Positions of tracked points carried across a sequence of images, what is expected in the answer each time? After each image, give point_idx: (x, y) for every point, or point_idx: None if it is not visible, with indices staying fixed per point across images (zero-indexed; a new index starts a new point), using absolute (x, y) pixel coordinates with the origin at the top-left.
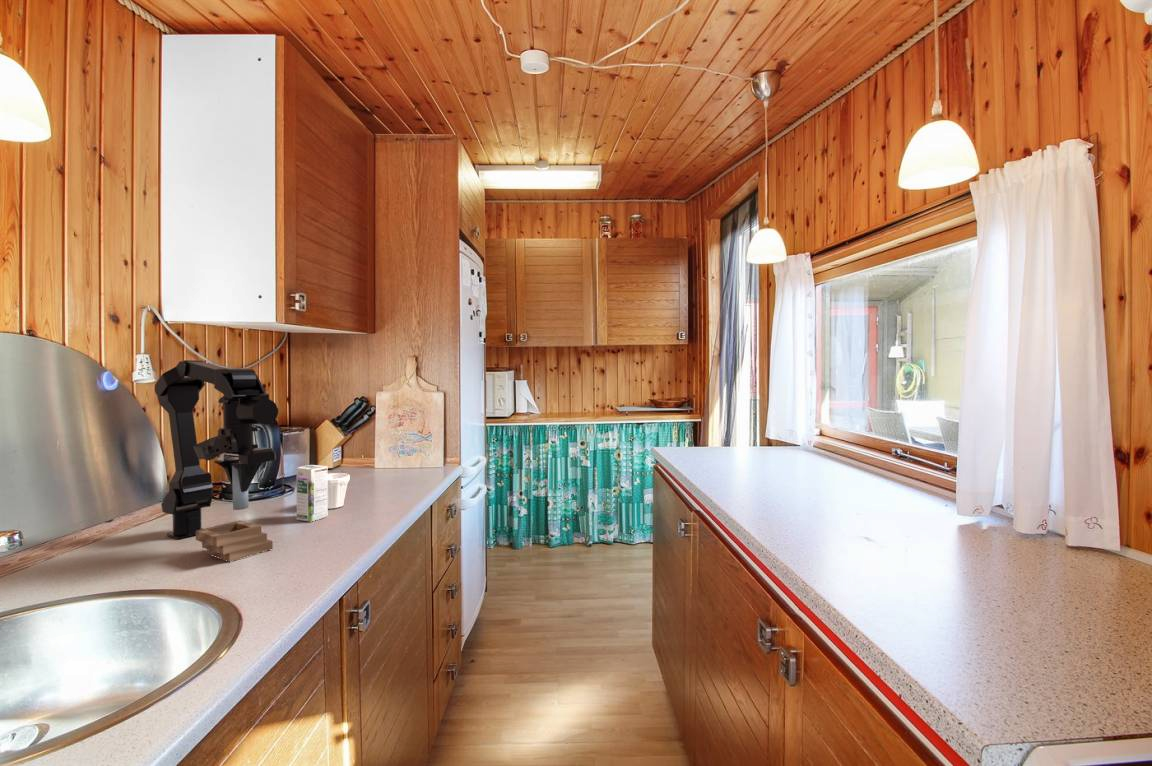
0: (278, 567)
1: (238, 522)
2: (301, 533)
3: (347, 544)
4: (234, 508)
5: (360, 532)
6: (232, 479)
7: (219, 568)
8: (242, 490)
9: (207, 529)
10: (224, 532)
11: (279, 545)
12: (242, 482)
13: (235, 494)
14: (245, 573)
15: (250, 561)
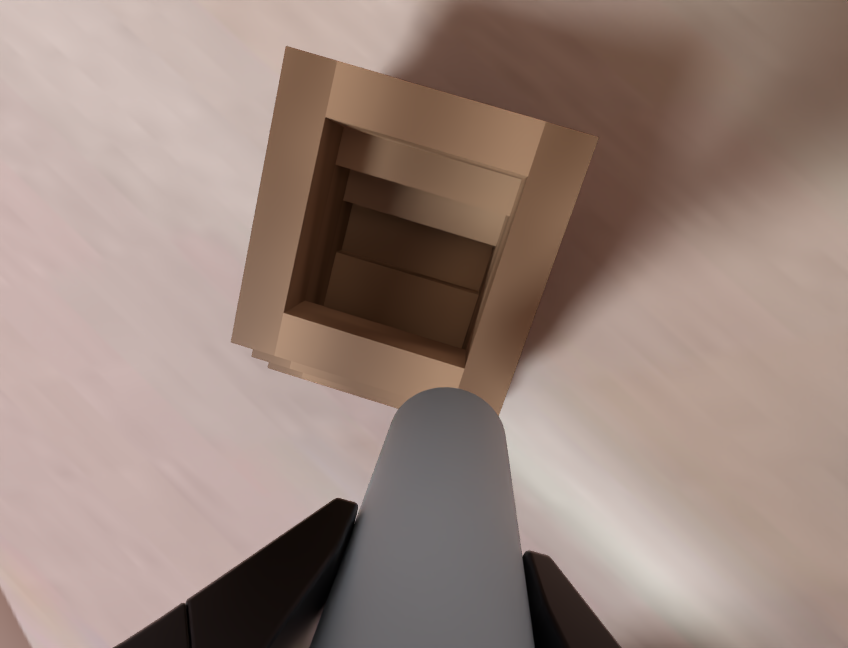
0: (57, 164)
1: (460, 381)
2: None
3: (35, 476)
4: (453, 393)
5: (111, 614)
6: (485, 636)
7: None
8: (326, 505)
9: (535, 188)
10: (488, 285)
11: (306, 409)
12: (247, 569)
13: (424, 460)
14: (126, 54)
15: (246, 194)
